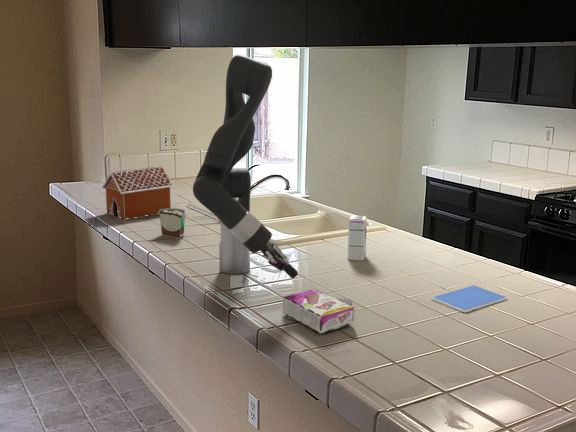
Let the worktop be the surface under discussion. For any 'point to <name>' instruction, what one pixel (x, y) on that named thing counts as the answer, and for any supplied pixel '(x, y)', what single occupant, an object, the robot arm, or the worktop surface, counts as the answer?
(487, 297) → the tablet computer
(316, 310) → the candy bar box
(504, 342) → the worktop surface
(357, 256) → the syrup box
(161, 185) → the gingerbread house
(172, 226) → the food container
